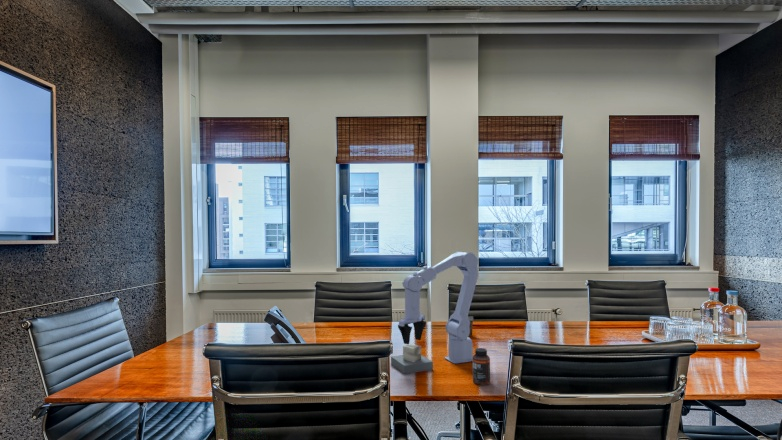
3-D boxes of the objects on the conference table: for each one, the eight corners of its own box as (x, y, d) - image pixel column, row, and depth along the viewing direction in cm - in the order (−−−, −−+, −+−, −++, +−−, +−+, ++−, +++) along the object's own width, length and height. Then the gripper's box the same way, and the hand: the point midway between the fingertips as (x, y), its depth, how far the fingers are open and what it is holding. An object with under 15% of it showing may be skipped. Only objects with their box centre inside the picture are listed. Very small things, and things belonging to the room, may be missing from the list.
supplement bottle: (487, 379, 144) (487, 347, 144) (492, 385, 138) (492, 352, 138) (470, 379, 143) (470, 347, 144) (474, 385, 138) (474, 352, 138)
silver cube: (410, 356, 160) (410, 343, 160) (421, 358, 157) (421, 345, 157) (403, 359, 156) (403, 346, 156) (413, 362, 153) (413, 348, 153)
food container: (451, 331, 212) (451, 312, 213) (462, 330, 214) (462, 311, 215) (462, 337, 201) (462, 317, 201) (473, 336, 203) (473, 316, 203)
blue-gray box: (418, 360, 164) (418, 352, 164) (432, 369, 153) (432, 361, 153) (391, 364, 159) (391, 356, 160) (404, 374, 148) (404, 365, 149)
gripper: (409, 310, 150) (409, 347, 150) (431, 305, 161) (431, 339, 161) (394, 308, 155) (394, 344, 154) (416, 303, 166) (416, 336, 165)
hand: (412, 341), depth 158 cm, fingers open, 7 cm apart
